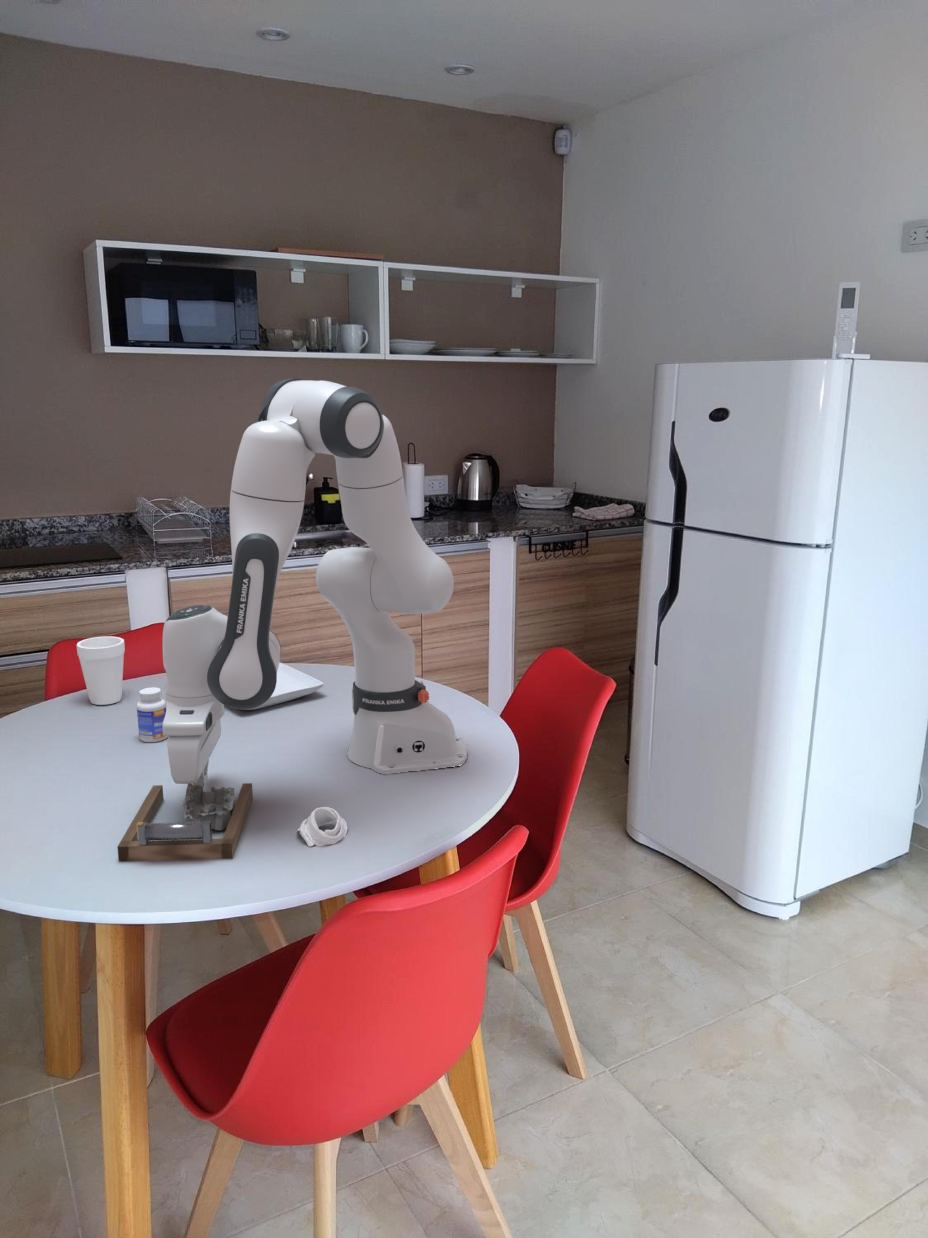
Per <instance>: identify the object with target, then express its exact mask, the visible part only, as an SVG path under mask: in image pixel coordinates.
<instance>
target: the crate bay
mask: <svg viewBox="0 0 928 1238" xmlns="http://www.w3.org/2000/svg"><path fill="white" fill-rule="evenodd" d="M163 787H164V786H163V784H162V785H161V784H160V785H158V784H157V785H156V784H155V785H152V787H151V788H150V790H149V791H148V794H147V795H146V797H145V798H144V800H143V802H142V804H141V805H140V807H139V809H138V811H137V812H136V814H135V816H134V818H133V819H132V821H131V823H130V824H129V826H128V828H127V830H126V831H125V833H124V834H123V836H122V838H121V839H120V841H119V844H118V845H117V847H116V848H117V859H118V863H119V862H147V861H148V862H151V861H153V862H154V861H155V862H157V861H186V860H187V861H190V860H191V861H192V860H193V861H194V860H230V859H231V860H232V859H233V858H234V855H235V852H236V850H237V847H238V843H239V841H240V837H241V835H242V832H243V829H244V826H245V823H246V820H247V817H248V814H249V812H250V808H251V805H252V802H253V799H254V793H253V791H254V790H253V782H248V783H247V782H243V783H242V785H241V788H240V790H239V793H238V796H237V799H236V801H235V804H234V806H233V808H232V809H233V810H232V812H231V818H230V820H229V823H228V826H227V828H225V832H224V835H223V837H222V838H212V841H211V844H203V839H188V840H153V841H149V842H148V843H147V845H146V846H139V840H138V837H137V826H136V825H137V823H138V822H144V823H145V822H147V823H152V822H153V820H154V819H155V816H156V814H157V813H158V812H159V809H160V807H161V806H162V804H163V803H164V801H165V799H164V798H165V797H164V790H163V789H164V788H163Z"/></svg>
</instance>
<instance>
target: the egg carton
mask: <svg viewBox="0 0 928 1238" xmlns="http://www.w3.org/2000/svg"><path fill="white" fill-rule="evenodd" d="M234 798H235V789H234V787H228V788H226V787H224V786H221V788H216V787H215V786H212V787H211V788H210V790H205V791H204V788H202V786H201V785H193V784H187V787H186V792H185V796H184V801H183V805H182V808H183V809H182V810H183V818H184V819H185V822H204V821H211V829H212V830H215V831H223V830H224V829H227V826H228V823H229V820H230V818H231V815H232V812H231V811H233V810H232V809H234Z"/></svg>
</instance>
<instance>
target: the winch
mask: <svg viewBox="0 0 928 1238" xmlns="http://www.w3.org/2000/svg"><path fill="white" fill-rule="evenodd" d="M136 826H137V837H138V840H139V846H146V845H147V843H148V842H149V841H159V840H195V839H203V844H211V841H212V839H213V833H212V832H213V831H212V830H213V829H211V821H204V822H153V823H152V822H151V823H147V822H145V823H144V822H138V823H137V825H136Z"/></svg>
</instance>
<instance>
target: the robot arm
mask: <svg viewBox="0 0 928 1238" xmlns="http://www.w3.org/2000/svg"><path fill="white" fill-rule="evenodd" d="M258 413H259V414H258V417H257V422H253V424H250V425H249V426H248V427H247V428H246V429H245V430H244V432H243V434H242V436H241V437H242V438H241V441H240V443H239V446H238V451H237V454H236V458H235V462H234V466H233V472H232V478H231V486H230V487H231V488H230V492H229V493H230V494H229V533H230V546H231V564H232V569H231V570H232V572H231V573H232V578H231V579H232V580H231V587H230V597H229V602H228V603H229V604H228V611H227V615H226V614H223V613H222V612H220V611H219V610H217V609H216V608H214V607H213V606H212V605H203V604H198V605H197V604H196V605H191V606H186V607H184V608H181V609H179V610H176V611H174V612H173V613H172V614H170V615H169V616H168V618H166V620H165V622H164V625H163V628H162V629H163V630H162V662H163V663H162V664H163V668H164V670H165V673H166V683H165V687H164V688H165V690H164V692H165V702H166V713H165V717H164V721H163V725H162V727H163V734H164V735H166V736H168V737H167V739H166V740H167V745H166V746H167V754H168V755H167V756H168V762H169V768H170V775H171V779H172V780H173V782H174V783H175V784H177V785H188V784H193V785H201V786H202V788H203V789H204V788H205V786H206V784H207V782H208V781H209V777H208V769H209V762H210V757H211V756H212V753H213V751H214V750H215V748H216V746H217V744H218V742H219V740H220V738H221V735H222V724H221V718H223V717H224V715H225V706H226V707H228V708H230V709H235V710H242V711H247V710H246V709H252V708H255V707H258V706H260V705H262V704H263V703H265V702H266V701H267V700H268V699H269V698H270V697H271V696H272V694H273V692H274V690H275V687H276V682H277V671H278V667H279V662H280V661H281V657H282V646H281V643H280V640H279V638H278V637H277V635H276V634H275V632H273V631H272V630H271V625H272V624H271V623H272V617H273V608H274V603H275V602H274V601H275V594H276V587H277V584H278V580H279V577H280V574H281V571H282V570H283V567H284V565H285V563H286V561H287V558H288V556H289V554H290V552H291V551H292V549H293V548H292V547H293V546H294V544H295V541H296V538H297V536H298V532H299V528H300V524H301V520H302V517H303V511H304V506H305V499H306V498H305V496H306V485H307V484H306V483H307V472H308V469H309V466H310V464H311V462H312V461H313V459H314V458H315V457H316V454H324V455H330V456H333V457H334V459H335V468H336V469H335V471H336V478H337V484H338V492H339V497H340V499H339V500H340V504H341V511H342V518H343V522H344V523H345V526H346V527H347V528H348V530H349V531H350V532H351V533H353V534H354V535H355V536H357V537H358V538H360V539H361V540H362V541H364V542H365V543H366V544H367V545H368V546H369V547H370V548H369V547H360V546H359V547H358V546H350V547H349V546H348V547H341V548H336V549H330V550H328V551H327V552H325V554H324V555H323V556H322V557H321V558H320V560H319V562H318V564H317V567H316V572H315V581H316V583H315V584H316V586H317V589H318V592H319V594H320V595H321V597H323V599H324V600H326V602H327V603H329V604H330V605H331V607H333V608H334V610H335V611H336V612H337V613H338V614H339V616H340V618H341V619H342V621H343V622H344V624H345V625H344V626H346V629H347V632H348V634H349V637H350V641H351V645H352V651H353V663H354V664H353V665H354V681H353V683H352V688H351V700H352V701H351V702H352V703H351V704H352V705H351V707H352V712H353V715H354V716H353V726H352V731H351V733H352V734H351V739H350V741H349V746H348V747H349V748H348V750H347V754H346V755H347V758H348V759H349V760H350V762H352V763H354V764H355V765H358V766H360V767H363V768H367V769H370V768H371V769H370V770H373V771H375V773H377V772H378V773H377V774H379V773H381V774H380V775H383V774H388V775H391V774H390V773H398V774H401V773H400V772H407V773H409V772H408V771H417V772H422V771H421V770H426V771H428V770H427V769H435V768H445V769H447V768H446V767H453V766H459V765H461V764H463V763H464V762H465V760H466V759H467V760H468V756H467V754H468V747H467V744H466V742H465V740H464V739H463V738H462V737H460V736H458V735H457V734H456V731H455V728H454V727H455V726H454V724H453V722H452V720H451V718H450V717H449V715H448V714H447V713H446V712H444V711H442V710H441V709H439V708H438V707H436V705H433V704H432V703H430V702H429V700H430V693H429V691H428V690H426V689H427V688H426V685H425V684H424V682H423V680H420V681H419V680H416V647H415V643H414V641H413V638H411V636H410V635H409V634H408V633H407V632H406V631H405V630H403V629H401V628H400V627H399V626H398V625H396V623H395V622H394V621H393V620H392V618H391V616H390V614H389V612H390V613H398V614H399V613H400V614H409V615H421V614H431V613H438V612H440V611H441V610H443V609H444V608H445V607H446V606H447V605H448V603H449V602H450V600H451V597H452V595H453V593H454V585H455V584H454V583H455V581H454V575H453V572H452V569H451V567H450V566H449V564H448V563H447V561H446V560H445V559H444V558H442V557H440V556H439V555H438V554H436V552H434V551H433V550H432V549H431V548H430V547H429V546H428V545H427V543H425V541H424V540H423V538H422V537H421V536H420V534H419V533H418V531H417V529H416V527H415V525H414V523H413V520H412V519H411V516H410V515H411V514H410V510H409V505H408V501H407V500H408V499H407V495H406V494H407V493H406V488H405V479H404V471H403V465H402V459H401V454H400V449H399V444H398V441H397V438H396V434H395V431H394V427H393V425H392V422H391V421H390V419H389V418H387V416H385V415H384V414H382V410H381V408H380V406H379V404H378V402H377V401H376V400H375V398H374V397H373V396H372V395H370V394H369V393H368V392H367V391H364V390H362V389H360V388H358V387H355V386H348V385H347V386H346V385H343V384H341V383H336V382H333V381H328V380H312V379H309V380H305V379H303V378H287V379H282V380H280V381H277V382H276V383H275V384H273V385H272V386H271V387H270V388H269V390H267V392H266V393H265V395H264V397H263V400H262V403H261V406H260V411H259V412H258ZM467 760H466V761H467ZM465 763H466V762H465ZM465 763H464V764H465ZM464 764H463V765H464Z"/></svg>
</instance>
